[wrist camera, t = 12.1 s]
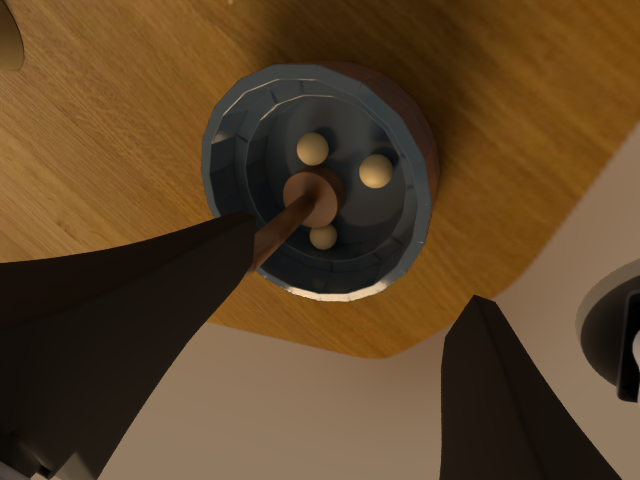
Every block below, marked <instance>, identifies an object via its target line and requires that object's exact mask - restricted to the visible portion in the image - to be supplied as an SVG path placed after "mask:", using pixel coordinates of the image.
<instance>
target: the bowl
mask: <svg viewBox="0 0 640 480" xmlns="http://www.w3.org/2000/svg"><path fill="white" fill-rule="evenodd" d="M312 132H313V133H318V134H320V135H322V136H323V137H324V138H325V139H326V141H327V143H328V147H329V151H328V155H327V157H326V159H325V160H324V161H323V162H322V163H320V165H324V166H327V167H329V168H331V169H332V170H334V171H335V172H336V173H337V174H338V175H339V176H340V178H341V179H342V181H343V183H344V186H345V189H346V201H345V204H344V206H343V208H342V209H341V211H340V212H339V213H338V214H337V216H336V217H335V218H334V219H333V220H332V221H331V222H330V224H331V225H333V226H334V228H335V229H336V231H337V240H336V242H335V244H334V245H333V246H332V247H331V248H329V249H325V250H322V249H318V248H316V247H315V246H314V245H313V244H312V243H311V241H310V231H311V229H312V228H311V227H307V226H304V225H302V224H301V225H300V226H299V227H298V228H297V229H296V230H295V231H294V232H293V233H292V234H291V235H290V236H289V237H288V238H287V239H286V240H285V241H284V242H283V243H282V244H281V245H280V246H279V247H278V248H277V249H276V250H275V251H274V252H273V253H272V254H271V255H270V256H269V257H268V258H267V259H266V260H265V261H264V262H263V263H262V264H261V266H260V267H259V268H258V269H257V270H256V272H258V273H259V274H260V275H261V276H262V277H263V278H265V279H266V280H268V281H270V282H272V283H274V284H276V285H278V286H279V287H281V288H283V289H285V290H287V291H289V292H290V293H291V292H292V293H293V294H296V295H300V296H304V297H307V298H311V299H315V300H318V301H353V300H357V299H360V298H363V297H367V296H370V295H373V294H377V293H379V292H382V291H383V290H384V289H386V288H387V287H388V286H390V285H391V284H393V283H394V282H395V281H397V280H398V279H399V278H401V277H402V276H403V275H405V274H406V273H407V272H408V270H409V268H410V267H411V265H412V264H413V262H414V261H415V259H416V257H417V256H418V254H419V253H420V251H421V250H422V248H423V246H424V245H425V242H426V238H427V234H428V229H429V225H430V221H431V217H432V212H433V208H434V203H435V198H436V193H437V188H438V183H439V178H440V167H439V160H438V153H437V147H436V140H435V137H434V134H433V132H432V130H431V128H430V126H429V125H428V123H427V121H426V119H425V117H424V115H423V113H422V111H421V110H420V108H419V106H418V104H417V103H415V100H414V99H413V98H412V97H411V96H409V95H408V94H407V93H406V92H405V91H404V90H403V89H402V88H401V87H399V86H398V85H397V84H396V83H395V82H394V81H393V80H392V79H391V78H390V77H388V76H386V74H383V73H380V72H378V71H375V70H373V69H370V68H368V67H365V66H363V65H360V64H358V63H355V62H353V61H352V62H351V61H311V62H295V63H279V64H273V65H271V66H268V67H266V68H264V69H261V70H259V71H257V72H255V73H252V74H250V75H248V76H246V77H243V78H241V79H240V80H238V81H237V82H236V83H235V85H234V86H233V87H232V88H231V89H230V90H229V91H228V92H227V93H226V94H225V95H224V97H223V98H222V99H221V100H220V101H219V102H218V103H217V104H216V106H215V107H214V109H213V112H212V115H211V117H210V120H209V122H208V125H207V127H206V130H205V133H204V135H203V139H202V155H201V175H202V180H203V185H204V189H205V194H206V199H207V203H208V206H209V208H210V210H211V212H212V214H213V216H214V219H215V218H218V217H221V216H224V215H227V214H230V213H233V212H237V211H243V212H246V213H248V214H251V215H254V216H256V226H255V234H256V233H257V232H258V231H259V230H260V229H262V228H263V227H264V226H265V225H266V224H267V223H269V222H270V221H271V220H272V219H273V218H275V217H276V216H277V215H278V214H279V213H280V212H282V211H283V210H284V209H285V208H286V207H285V204H284V200H283V189H284V186H285V184H286V182H287V180H288V179H289V178H290V177H291V176H292V175H294V174H295V173H297V172H298V171H300V170H301V169H302V168H304V167H306V166H308V165H307V164H305V163H304V162H302V161H301V159H300V158H299V156H298V153H297V144H298V142H299V140H300V138H301V137H302V136H304V135H305V134H307V133H312ZM374 154H380V155H383V156H385V157H387V158H388V159H389V160H390V162H391V163H392V166H393V175H392V178H391V180H390V181H389V182H388V183H387V184H386V185H385V186H383V187H381V188H371V187H368V186H366V185H365V184H364V183H363V182H362V180H361V178H360V174H359V169H360V166H361V163H362V162H363V161H364V159H366V158H367V157H368V156H370V155H374Z"/></svg>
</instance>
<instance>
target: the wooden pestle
mask: <svg viewBox="0 0 640 480" xmlns="http://www.w3.org/2000/svg"><path fill="white" fill-rule="evenodd" d="M283 200H284V204H285V207H286V208H285V209H284V210H283V211H282V212H280V213H279V214H278V215H277V216H276V217H275V218H273V219H272V220H271V221H270V222H269V223H267V224H266V225H265V226H264V227H263V228H262V229H260V230H259V231H258V232H257V233H256V234H255V241H254V255H253V263H252V265H251V266H250V268H249V269H248V271H247V272H246V274H245V276H249V275H251V274H252V273H254V272H255V271H256V270H257V269H258V268H259V267H260V266H261V264H262V263H263V262H264V261H265V260H266V259H267V258H268V257H269V256H270V255H271V254H272V253H273V252H274V251H275V250H276V249H277V248H278V247H279V246H280V245H281V244H282V243H283V242H284V241H285V240H286V239H287V238H288V237H289V236H290V235H291V234H292V233H293V232H294V231H295V230H296V229H297V228H298V227H299V226H300V225H301V224H302V225H304V226H307V227H311V228H320V227H323V226H326V225H328V224H329V223H330V222H331V221H332V220H333V219H334V218H335V217H336V216H337V214H338V213H339V212H340V211H341V209H342V208H343V206H344V204H345V201H346V189H345V186H344V183H343V181H342V179H341V178H340V176H339V175H338V174H337V173H336V172H335V171H334V170H332V169H331V168H329V167H327V166H324V165H320V164H318V165H314V166H312V165H308V166H306V167H304V168H302V169H301V170H300V171H298V172H297V173H295V174H294V175H292V176H291V177H290V178H289V179H288V180H287V182H286V184H285V186H284V189H283Z"/></svg>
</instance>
